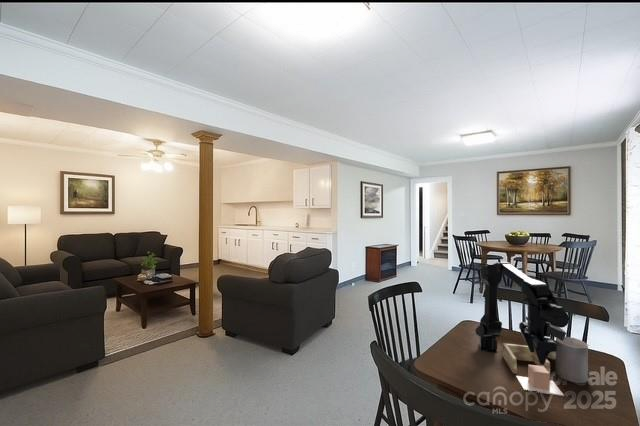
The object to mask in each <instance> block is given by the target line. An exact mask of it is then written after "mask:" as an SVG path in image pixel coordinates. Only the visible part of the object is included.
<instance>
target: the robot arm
mask: <svg viewBox="0 0 640 426" xmlns="http://www.w3.org/2000/svg"><path fill="white" fill-rule="evenodd" d="M503 275H504V276H506V277H507V278H508V279H509V280H511V281H512V282H514V283H515V284H516V285H518V286H519V287H520V291H521V292H522V293H523V294H524V295H525V298H523V300H522V301H524V302H525V303H527V316H525V320H526V321H521V322H520V323H519V324H518V325H519V326H518V328H519V330H520V333H521V335H522V337H523V339H524V341H525V344H526V346H528V348H529V350H530V352H534V350H535V352H536V355H537V357H538V360H539V362H540V364H541V365H544V363H545V361H546V359H547V360H548V358H549V357H548V355H549V353H550V352H555V351H558V345H557V344H556V341H554V340H553V339H552V338H551V337H554V338H555V339H556V338H558V339H560V340H562V341H563V340H564V337H566V335H567V332H566V331H565V330H564V329H563V328H565V327H567V326H568V324H569V323H570V316H569V314H568V312H566V311H565V310H564V307H563V306H560V305H558V302H557V300H556V297H555V296H554V293H553V292H552V290H551V289H550V286H549V285H548V284H547V283H545V282H544V281H541V280H539V279H535V278H531V277H530V276H527V274H525V273H524V272H522V271H520V270H519V269H518V268H516V267H515V266H513V265H512V264H511V263H510V262H509V261H497V262H495V263H493V264H489V265H483V266H482V267H481V268H480V276H481V280H482V281H483V284H484V310H483V311H484V312H483V313H484V314H483V316H482V317H481V318H480V321H479V325H478V326H477V327H476V328H475V329H474V330H475V335H477V336H478V337H479V342H478V347H479V349H480V350H481V352H491V353H498V340H497V338H500V335H501V333H502V331H503V327H502V326H503V322H502V321H500V319H499V318H498V286H499V284H500V283H501V282H502V280H503ZM545 336H546V337H548V338H545Z"/></svg>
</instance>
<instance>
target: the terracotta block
mask: <svg viewBox="0 0 640 426" xmlns="http://www.w3.org/2000/svg"><path fill="white" fill-rule="evenodd" d="M527 367H528V368H527V371H528V373H527V377H528V380H529V382H530V383H531V385H532V386H533V388H540V389H547V390H550V380H551V372H550V373H549V372H548V371H547V370H546V368H545V367H544V366H537V365H536V364H528V365H527Z"/></svg>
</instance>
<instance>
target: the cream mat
mask: <svg viewBox="0 0 640 426" xmlns="http://www.w3.org/2000/svg"><path fill="white" fill-rule="evenodd" d="M515 378H516V380H517V381H518V383H519V384H520V386H521V387H522V389H523V391H525V390H526V391H527V390H528V391H527V392H532V391H537V392H536V393H539V392H540V394H547V395H554V396H560V397H565V394H564V393H563V392H562V391H561V390H560V388H559V387H558V386H557V385H556V383H555V382H554V381H553V380H551V379H550V390H547V389H540V388H533V386H532V385H531V383H530V382H529V380H528V376H521V375H515Z"/></svg>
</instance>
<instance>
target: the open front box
mask: <svg viewBox="0 0 640 426" xmlns="http://www.w3.org/2000/svg"><path fill="white" fill-rule="evenodd" d="M502 357H503V359H504V360H505V362H506V364H507V365H508V367H509V369H510V371H511V372H512V373H513V374H517V372H518V369H517V367H518V365H517V363H518V362H517V360H518V361H525V362H526V361H527V362H534V365H537V366H544V367H545V368H546V370H547V371H548V372H549V373H550V374H551V362H550V361H549V360H548V358H547V359H546V361H545V363H544V365H541V364H540V362H539V360H538V357H537V355H536V352H535V350H534V352H530V350H529V348H528V346H527V345H523V344H522V345H521V344H515V343H504V342H503V343H502Z"/></svg>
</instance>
